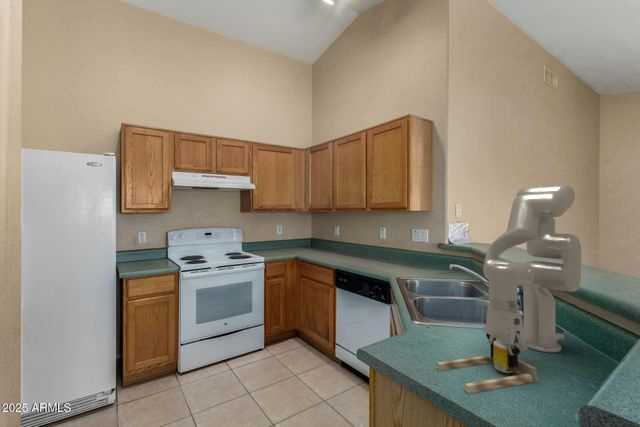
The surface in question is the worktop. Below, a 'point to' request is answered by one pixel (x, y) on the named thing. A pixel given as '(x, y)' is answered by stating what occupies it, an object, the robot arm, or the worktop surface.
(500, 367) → the supplement bottle
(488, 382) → the wooden frame
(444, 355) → the worktop surface
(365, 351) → the worktop surface
